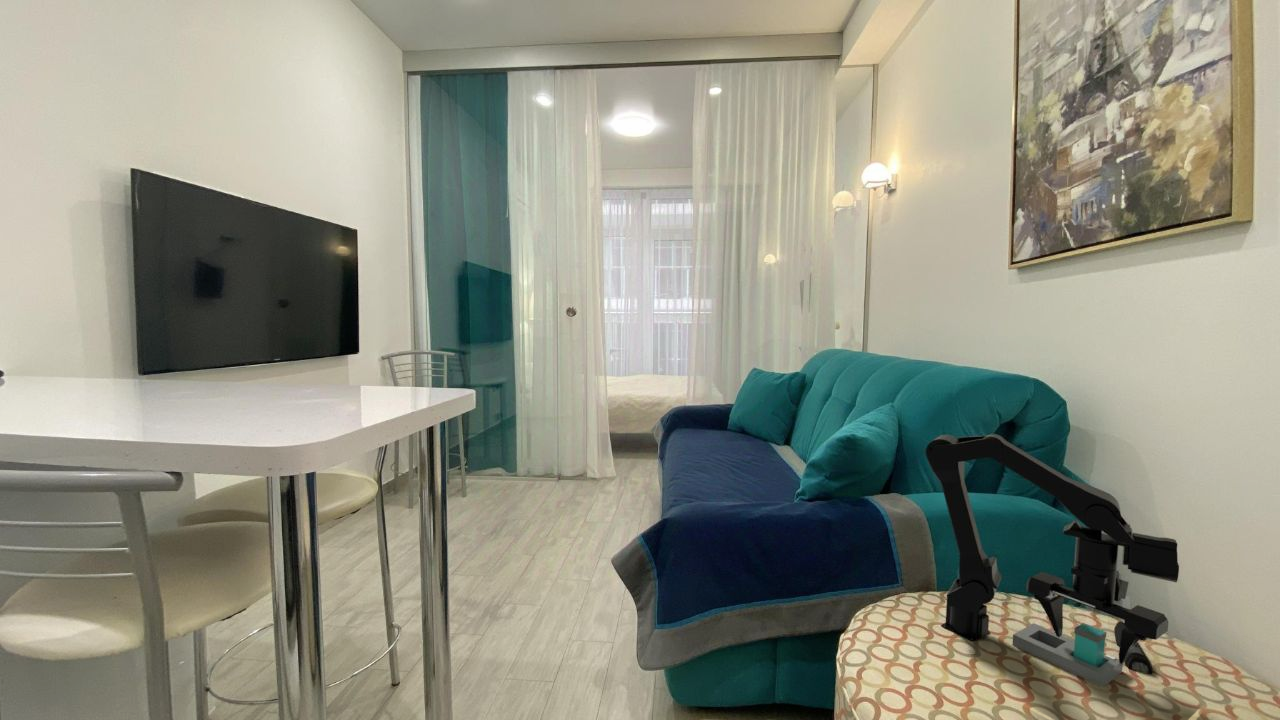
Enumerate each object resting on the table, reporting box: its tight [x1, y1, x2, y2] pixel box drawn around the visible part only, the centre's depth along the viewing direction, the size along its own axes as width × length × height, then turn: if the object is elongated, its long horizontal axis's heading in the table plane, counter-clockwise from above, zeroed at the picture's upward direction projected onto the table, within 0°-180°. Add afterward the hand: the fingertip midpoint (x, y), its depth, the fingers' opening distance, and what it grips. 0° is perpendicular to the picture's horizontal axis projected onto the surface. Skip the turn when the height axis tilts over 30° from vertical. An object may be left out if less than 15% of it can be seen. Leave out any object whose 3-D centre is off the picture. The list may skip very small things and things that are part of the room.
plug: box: [1074, 622, 1107, 668], centre depth 98 cm, size 3×3×7 cm
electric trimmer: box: [1113, 621, 1154, 676], centre depth 103 cm, size 4×16×3 cm, turn 148°
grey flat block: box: [1011, 623, 1124, 687], centre depth 101 cm, size 14×8×3 cm, turn 31°
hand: (1089, 649), depth 98 cm, fingers open, 9 cm apart
